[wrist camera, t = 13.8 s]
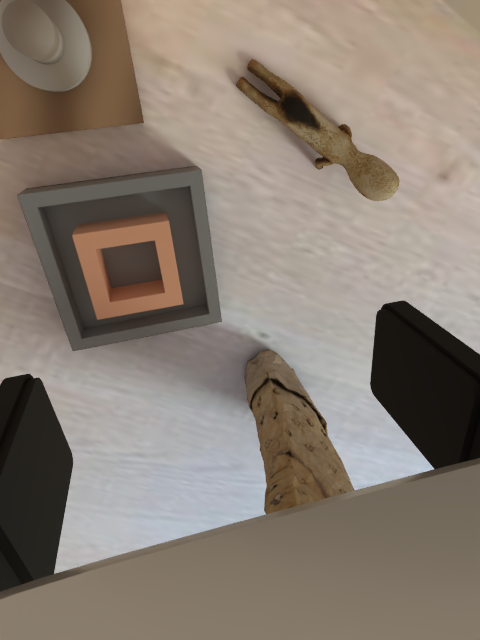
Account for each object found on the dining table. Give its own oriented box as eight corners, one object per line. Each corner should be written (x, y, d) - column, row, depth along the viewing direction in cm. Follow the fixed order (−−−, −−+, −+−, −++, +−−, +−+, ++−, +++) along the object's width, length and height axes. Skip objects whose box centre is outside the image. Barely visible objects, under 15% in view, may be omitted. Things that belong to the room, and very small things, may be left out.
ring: (77, 224, 31) (72, 235, 29) (166, 212, 32) (168, 220, 30) (100, 304, 35) (97, 319, 32) (179, 290, 36) (183, 304, 33)
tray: (76, 336, 36) (72, 351, 34) (25, 188, 30) (17, 195, 28) (216, 309, 38) (221, 321, 36) (196, 165, 32) (201, 170, 30)
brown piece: (0, 138, 28) (-36, 146, 22) (-65, -48, 23) (-134, -103, 17) (143, 122, 30) (146, 125, 24) (109, -56, 25) (102, -109, 19)
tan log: (331, 363, 45) (601, 708, 19) (290, 433, 48) (469, 804, 22) (222, 332, 40) (387, 746, 14) (184, 412, 43) (260, 863, 17)
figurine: (229, 100, 32) (367, 209, 36) (231, 88, 28) (388, 213, 31) (256, 56, 31) (395, 173, 35) (261, 37, 27) (420, 172, 31)
